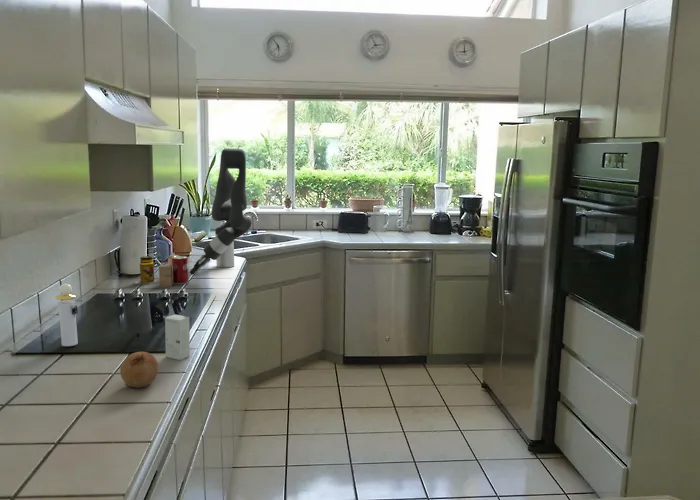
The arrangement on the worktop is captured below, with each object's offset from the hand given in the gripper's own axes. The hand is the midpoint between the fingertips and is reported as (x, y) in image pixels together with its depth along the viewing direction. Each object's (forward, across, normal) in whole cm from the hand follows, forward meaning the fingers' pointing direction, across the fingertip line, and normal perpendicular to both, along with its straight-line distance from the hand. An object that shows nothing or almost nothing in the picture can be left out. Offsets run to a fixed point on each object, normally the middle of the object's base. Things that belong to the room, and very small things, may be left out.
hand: (191, 273), depth 278 cm
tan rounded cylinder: (+11, -8, -4) cm, 14 cm away
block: (+10, +6, -4) cm, 12 cm away
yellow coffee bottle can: (+19, 0, -12) cm, 22 cm away
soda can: (+7, 0, 0) cm, 7 cm away
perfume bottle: (+9, +92, -2) cm, 92 cm away
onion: (-16, +121, +23) cm, 124 cm away
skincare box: (-18, +98, +25) cm, 103 cm away
